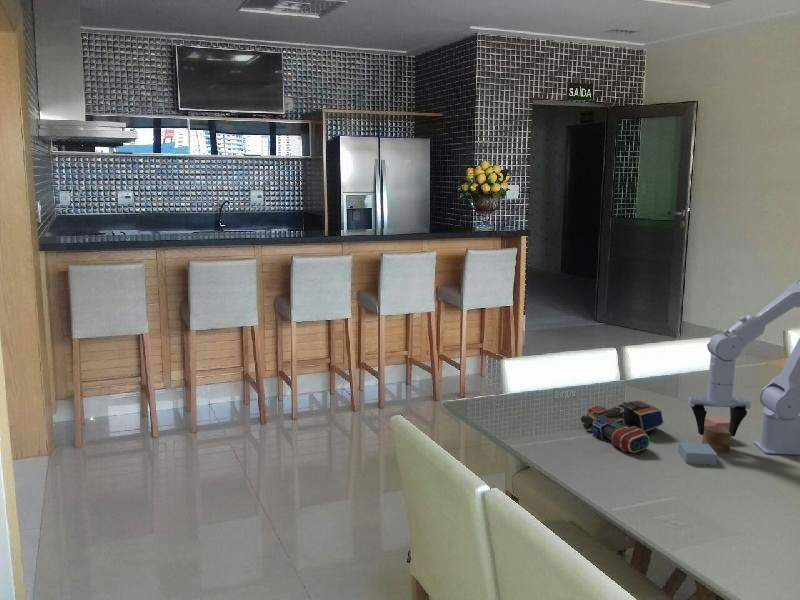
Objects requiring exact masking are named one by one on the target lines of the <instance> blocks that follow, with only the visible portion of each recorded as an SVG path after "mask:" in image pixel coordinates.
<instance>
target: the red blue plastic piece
mask: <svg viewBox="0 0 800 600" xmlns="http://www.w3.org/2000/svg"><path fill="white" fill-rule="evenodd" d="M617 405H618V406H611V408H609V409H607V408H606V407H603V406H600V405H595V406H593V407H590V408H588V410H587V411H588V413H587V414H586V415H582V416H581V418H580V420H581V423H583V428H584V430H586V431H587V430H590V431H591V432H592V434H594V436H597V437H598V438H599V439H601V440H605V439H608V440H609V441H610V443H611V444H612V445H613V446H614V447H616V448H617V449H618V450H621V451H623V452H625V453H627V452H628V453H629V452H630V453H633V454H635V453H636V454H637V453H638V452H640V451H643V450H645V449H647V448H648V447H649V446H650V442H651V441H650V437H649V435H648V434H647V432H649V431H650V432H651V430H654V429H655V428H658V427H660V426H662V425H664V418H663V413H662V412H663V411H662V410H661V409H660V408H659V407H656V406H654V405H651V404H650V403H647V402H645V401H642V400H629V401H623V402H621V403H618V404H617Z"/></svg>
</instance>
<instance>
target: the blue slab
mask: <svg viewBox="0 0 800 600" xmlns="http://www.w3.org/2000/svg"><path fill="white" fill-rule="evenodd" d="M677 453H678V454H679V456H680V457H681V458H682V460H683V461H684V463H685V464H687V465H688V464H689V465H690V464H691V465H706V464H710V465H711V466H712V465H713V466H717V465H718V464H717V463H718V453H717V452H715V451H714V450H713V449H712V448H711V446H710V445H709V444H702V443H697V442H696V443H692V442H678V451H677Z"/></svg>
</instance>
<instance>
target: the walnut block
mask: <svg viewBox="0 0 800 600" xmlns="http://www.w3.org/2000/svg"><path fill="white" fill-rule="evenodd" d="M730 439H731V433H730V432H729V431H728V430H727V429H726V428H725V427H719V426H704V434H703V435H702V442H701V444H709V445H710V446H711V448H712V449H713V450H714V451H715V452H716V453H717V452H718V453H730V450H731V441H730Z"/></svg>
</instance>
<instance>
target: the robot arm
mask: <svg viewBox="0 0 800 600" xmlns="http://www.w3.org/2000/svg"><path fill="white" fill-rule="evenodd" d="M794 308H800V278H798V279H797V280H796V281H795V282H793V283H791V284H789V285H788V287H787V288H786V289H785V290H784V291H783V292H782V293H781V294H779V295H778V296H777V297H776V298H775V299H773V300H772V301H771V302H770V303H768V304H767V305H766V306H765V307H764V308H762V309H761V310H760V311H759V312H758V313H756V314H755V315H754V314H753V315H752V314H747V315H745V316H744V315H741V316H740V317H738V321H737V322H735V323H734V324H733V325H731V326H730V327H729V328H728V329H727V328H724V329H723V330H722V332H723V333H717V334H715V335H713V336H712V337H711V338H709V341H708V342H707V344H706V347H707V351H708V352H709V353H710V360H709V370H708V379H707V381H708V384H707V395H705V396H688V397H687V398H688V399H687V405H688V406H689V408H690V407H691V409H692V412H693V414H694V418H695V421H696V426H697V433H698V434H699V435H700V436H703V434H704V422H705V417H707V410H706V408H705V407H709V408H710V407H711V408H729V411H730V412H729V414H730V417H729V418H730V419H729V421H730V427H729V432H730V433H731V436H732V437H736V434H737V431H738V429H739V426H740V424H741V423H742V421H743V419H745V418H746V416H747V414H748V410H751V405H752V401H750V400H749V399H744V398H739V397H738V398H735V397H733V392H734V380H735V369H736V359H738V358H739V357H740V355H741V353H742V350H743V349H744V348H745V347H746V346H748V345H749V344H751V343H752V342H753V341H754V340H756V339H757V338H759V337H760V336H762V335H763V334H764V333H765V329H766V326H767V325H769V324H770V323H772V322H774V321H775V320H777V319H778V318H780V317H782V316H783V315H784V314H786V313H787V312H789V311H790V310H793V309H794ZM758 397H759V398H758V399H759V402H760V404H761V405H762V406H763V410H762V418H761V419H762V420H761V428H760V429H761V430H760V431H761V432H760V440H753V443H754V444H755V445H756V446H757V447H758V448H759V449H760V450H761V451H763V453H765V454H773V455H774V454H775V455H793V456H794V455H796V456H798V455H799V456H800V337H799V338H798V340H797V341H796V344H795V346H794V348H793V350H792V351H791V353H790V355H789V356H788V358H787V361H786V362H785V364H784V366H783V368H782V370H781V372H780V374H778V375H776V376H775V377H773V378H771V380H770V382H769V383H768V384H767V385H766V386H764V387H763V388H762V389H761V390H760V392H759V396H758Z"/></svg>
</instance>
